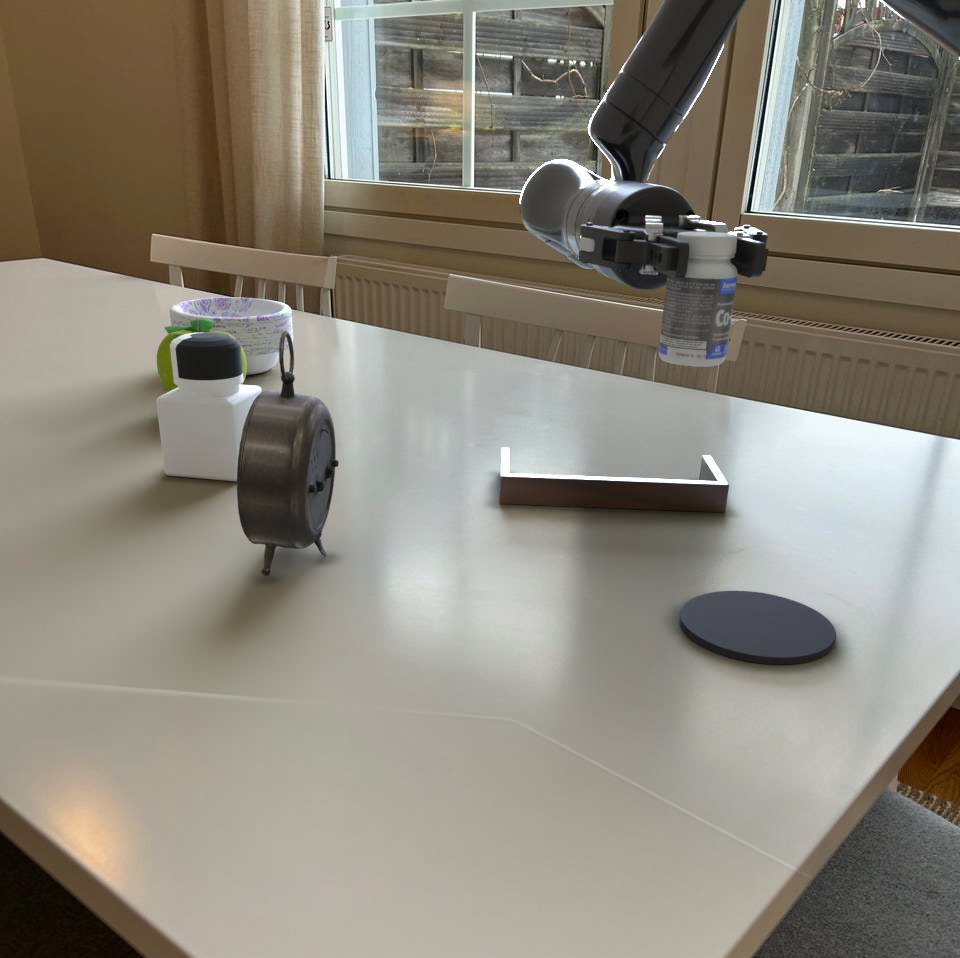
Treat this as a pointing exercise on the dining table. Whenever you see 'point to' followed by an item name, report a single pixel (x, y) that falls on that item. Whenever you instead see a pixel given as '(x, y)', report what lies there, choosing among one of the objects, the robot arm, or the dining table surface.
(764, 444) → the dining table surface
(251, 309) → the white round bowl
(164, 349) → the fruit
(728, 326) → the pill bottle
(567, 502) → the bracket
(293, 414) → the alarm clock
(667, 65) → the robot arm
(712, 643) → the coaster
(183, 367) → the medicine bottle
